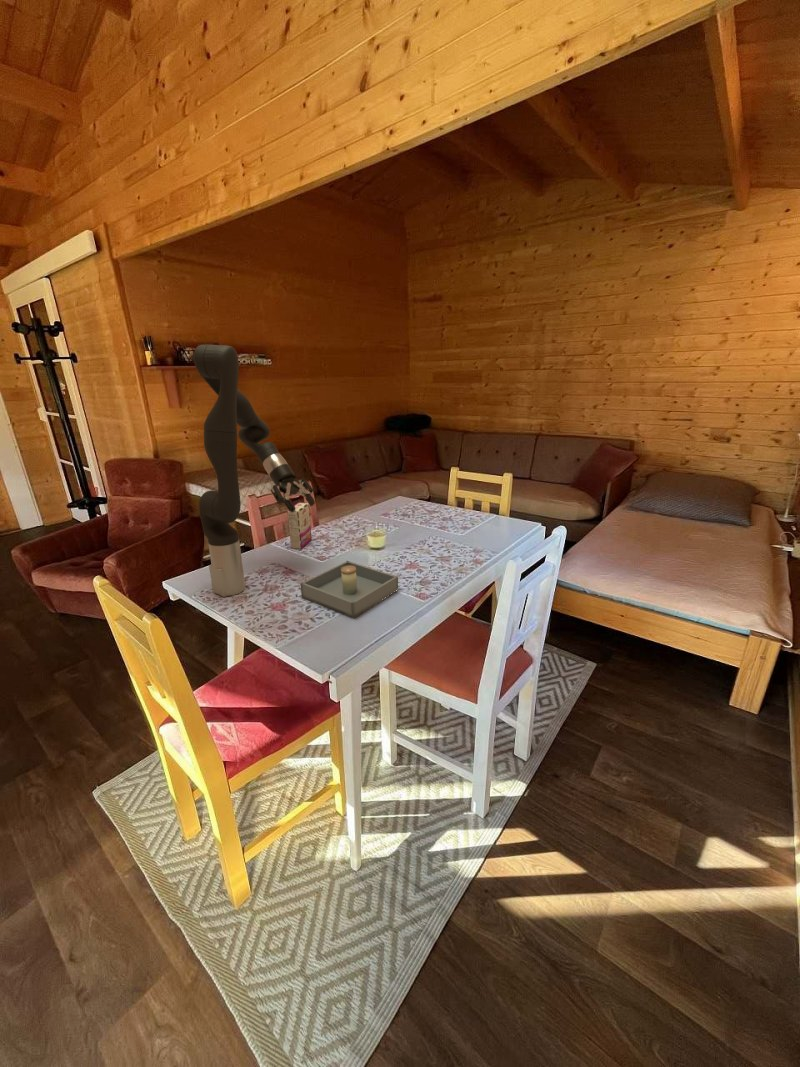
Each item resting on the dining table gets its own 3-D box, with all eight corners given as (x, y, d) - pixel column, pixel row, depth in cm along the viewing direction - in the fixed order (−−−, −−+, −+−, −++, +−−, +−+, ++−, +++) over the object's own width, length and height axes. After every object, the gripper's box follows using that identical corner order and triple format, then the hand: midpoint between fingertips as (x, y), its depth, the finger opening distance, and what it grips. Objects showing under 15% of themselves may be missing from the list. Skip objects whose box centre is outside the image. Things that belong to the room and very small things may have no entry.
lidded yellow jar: (351, 595, 142) (349, 573, 139) (339, 592, 144) (337, 569, 142) (360, 589, 146) (359, 567, 143) (349, 586, 148) (347, 564, 145)
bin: (353, 618, 131) (353, 603, 129) (301, 597, 143) (300, 583, 141) (397, 590, 148) (398, 576, 146) (348, 573, 160) (347, 560, 158)
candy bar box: (301, 539, 192) (298, 502, 187) (312, 539, 191) (309, 502, 186) (290, 548, 182) (286, 510, 176) (301, 549, 181) (298, 510, 175)
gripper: (265, 466, 147) (291, 506, 144) (299, 460, 157) (324, 496, 155) (257, 480, 152) (282, 519, 149) (290, 472, 162) (314, 508, 160)
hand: (303, 507), depth 152 cm, fingers open, 8 cm apart
